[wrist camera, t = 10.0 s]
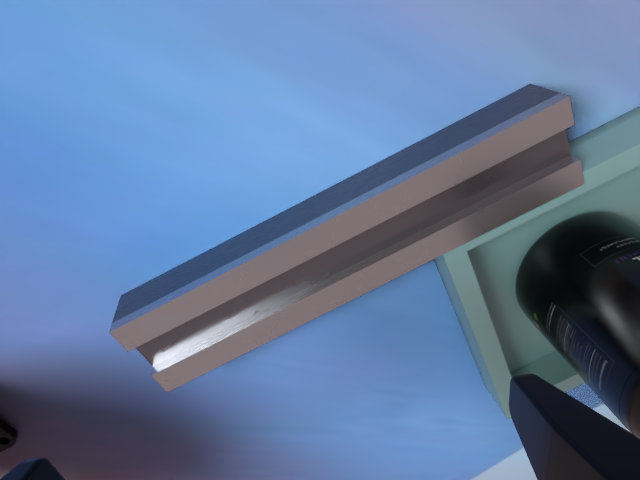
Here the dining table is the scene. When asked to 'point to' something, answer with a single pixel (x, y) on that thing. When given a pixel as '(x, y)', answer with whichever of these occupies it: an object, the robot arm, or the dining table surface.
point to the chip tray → (512, 245)
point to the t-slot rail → (353, 237)
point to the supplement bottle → (590, 304)
